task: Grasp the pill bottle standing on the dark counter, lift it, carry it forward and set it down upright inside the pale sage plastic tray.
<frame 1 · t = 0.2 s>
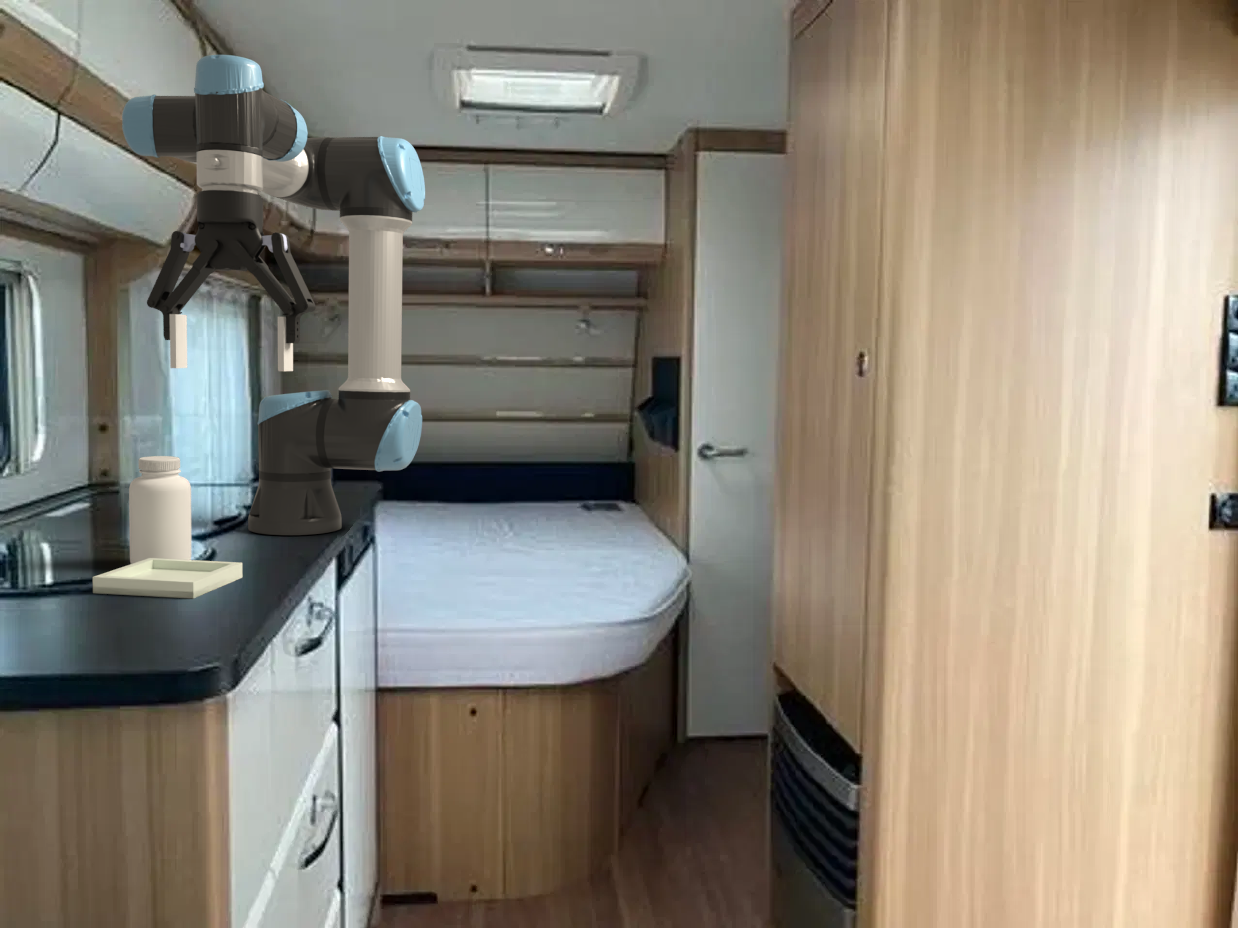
hand: (231, 370, 135), 28 cm above the counter, fingers open, 13 cm apart
pill bottle: (161, 566, 154), on the counter
tray: (170, 584, 141), on the counter
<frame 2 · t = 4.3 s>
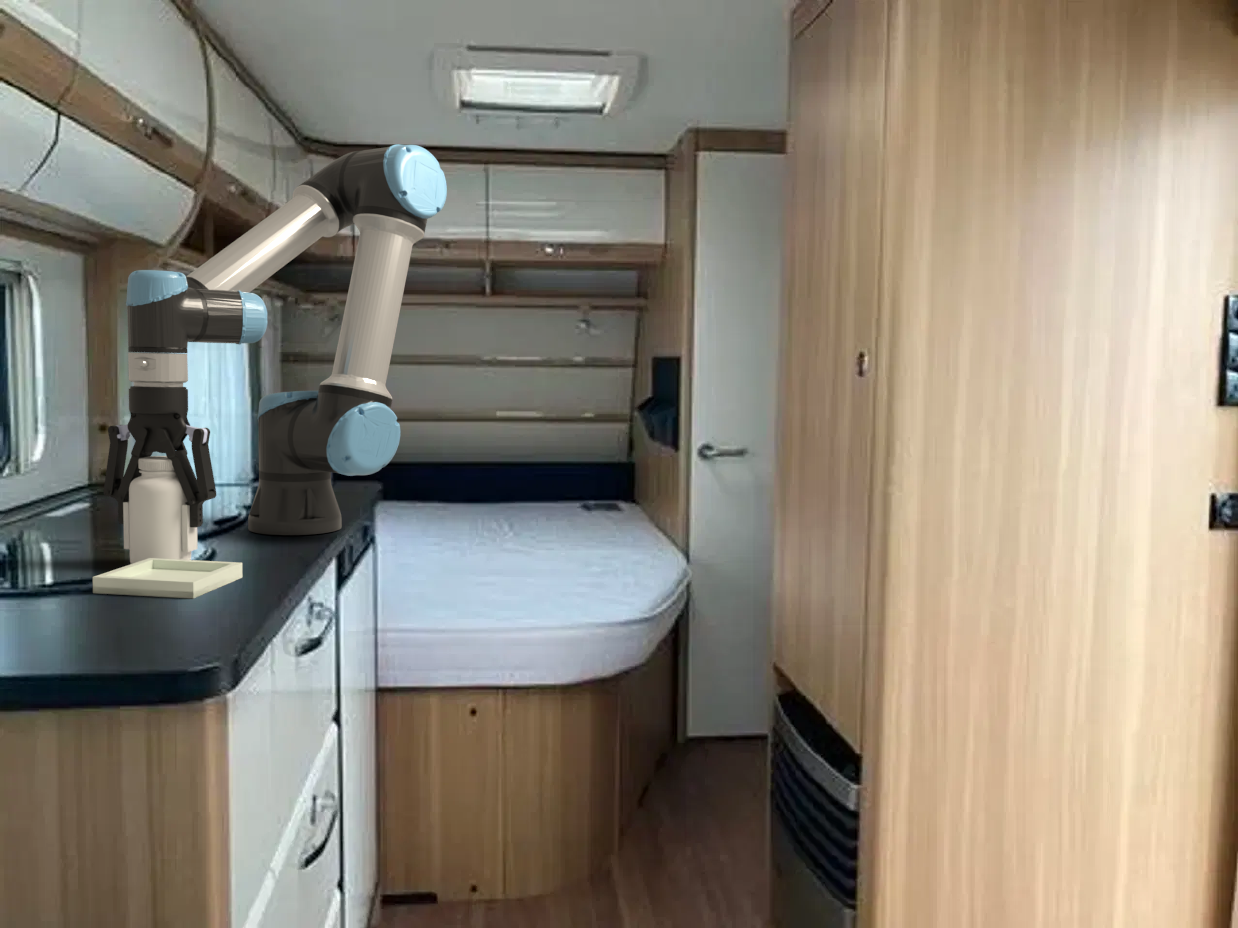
hand: (160, 548, 154), 2 cm above the counter, fingers closed on pill bottle, 8 cm apart
pill bottle: (161, 566, 154), on the counter, touching gripper
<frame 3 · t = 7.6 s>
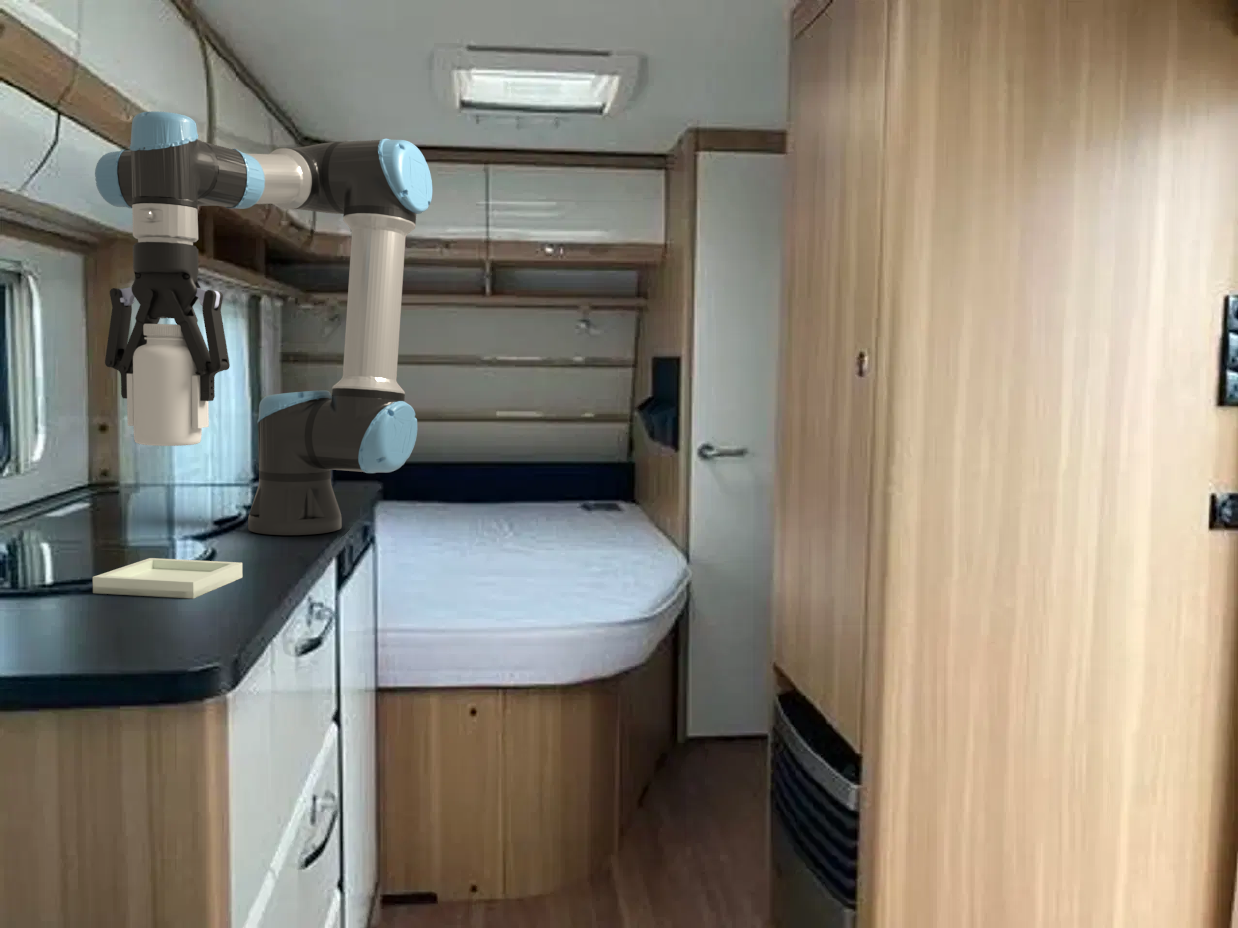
hand: (168, 426, 139), 20 cm above the counter, fingers closed on pill bottle, 8 cm apart
pill bottle: (168, 445, 139), point 18 cm above the counter, touching gripper
when the fingers open (5 cm above the counter, at t = 11.1 s): pill bottle drops 2 cm, resting on tray.
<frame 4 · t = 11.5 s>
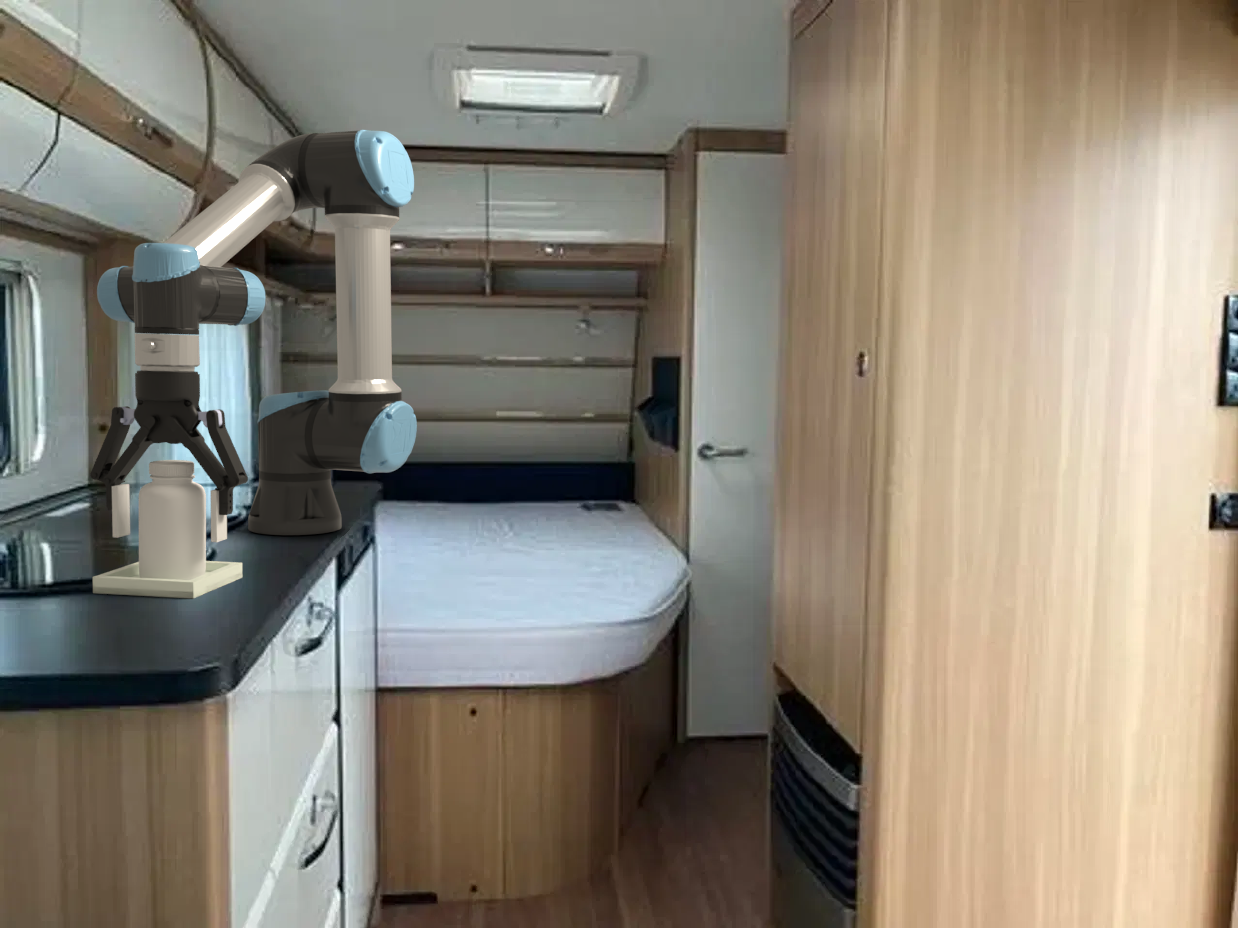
hand: (170, 538, 141), 6 cm above the counter, fingers open, 12 cm apart
pill bottle: (173, 580, 141), point 1 cm above the counter, touching tray
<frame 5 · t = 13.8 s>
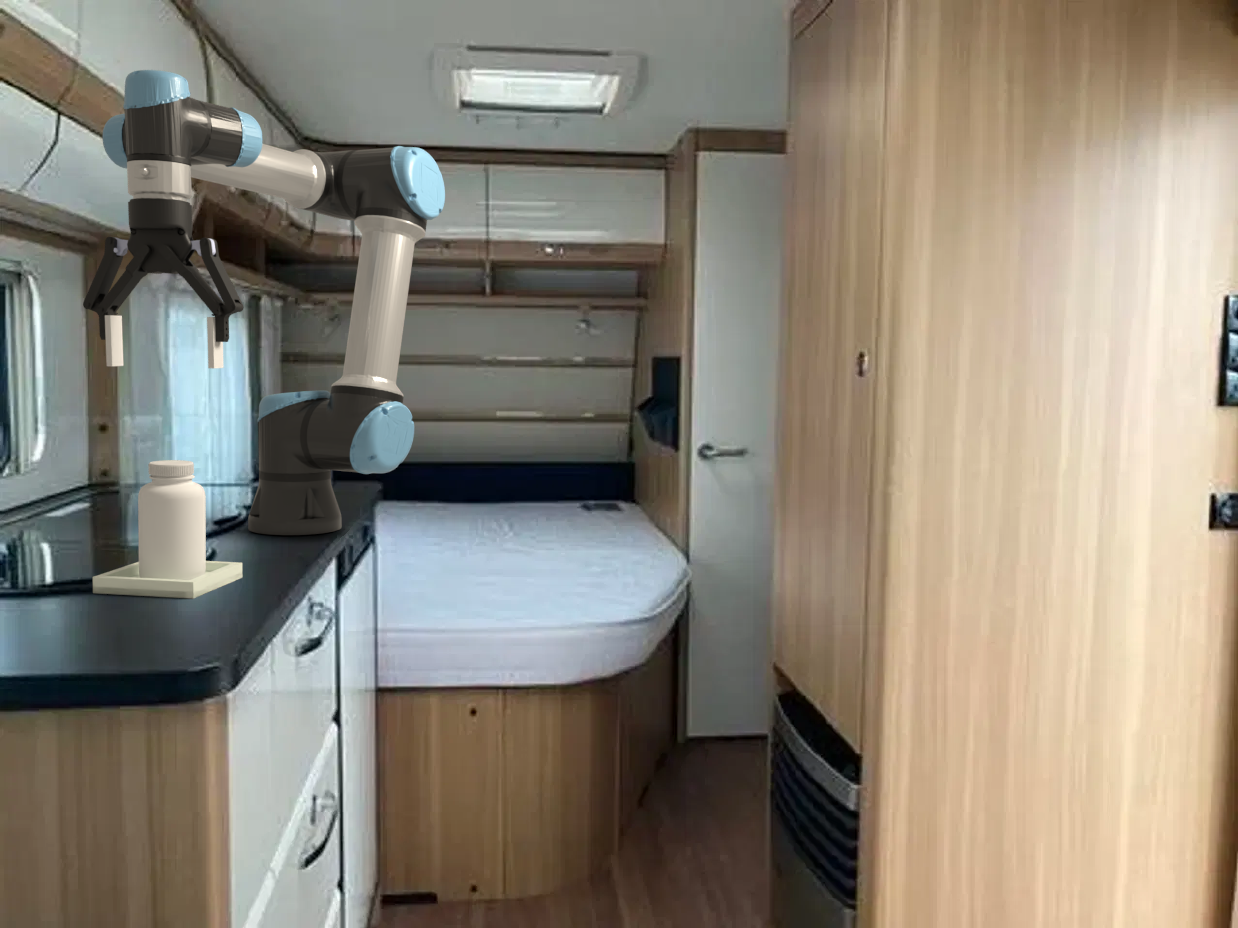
hand: (165, 367, 143), 28 cm above the counter, fingers open, 13 cm apart
nothing on the counter moved.
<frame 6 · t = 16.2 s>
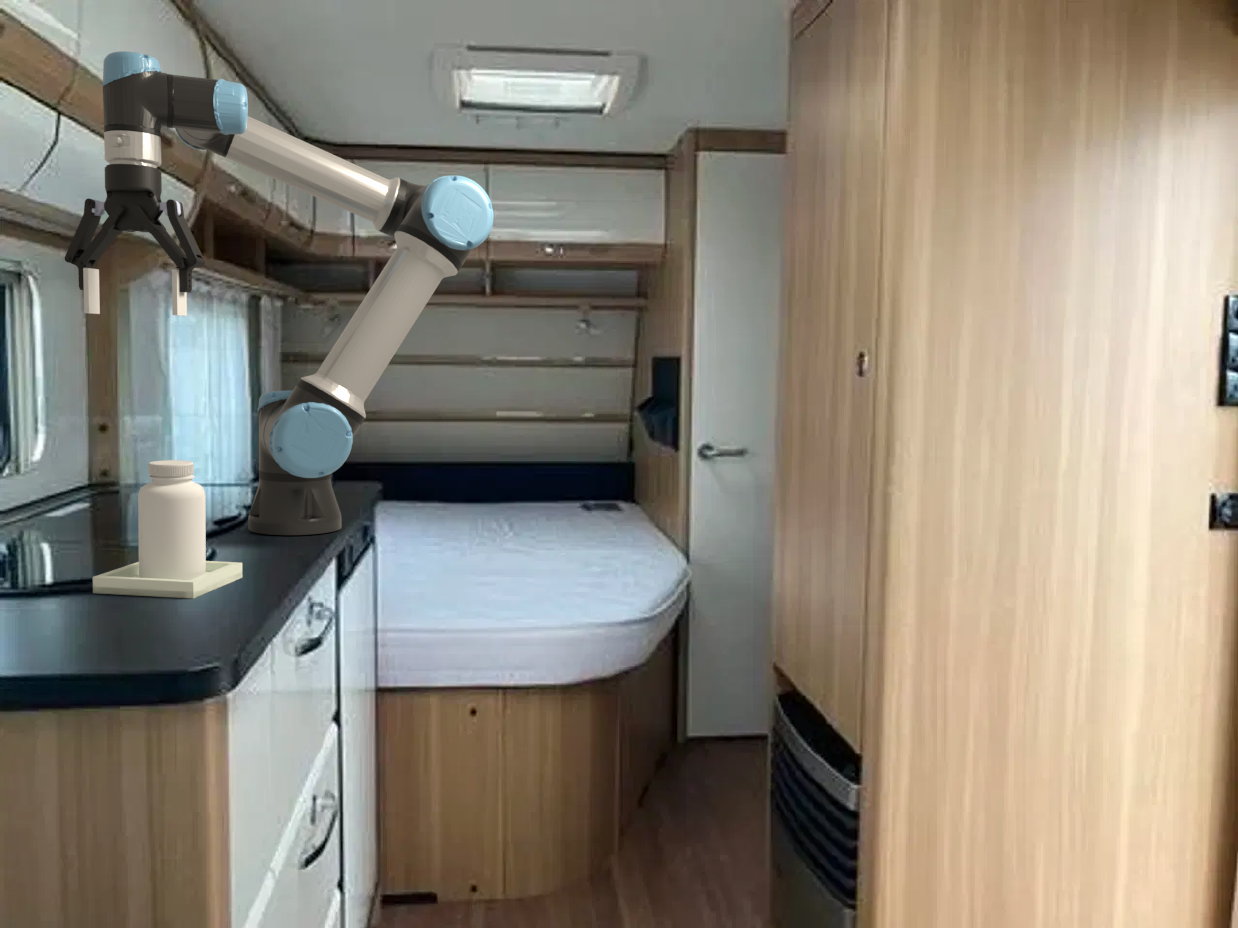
hand: (135, 314, 162), 35 cm above the counter, fingers open, 13 cm apart
nothing on the counter moved.
at the end: pill bottle inside the target area on the tray (0.3 cm from its centre), point 0.6 cm above the tray's base; pill bottle tilted 0°; the gripper is holding nothing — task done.
